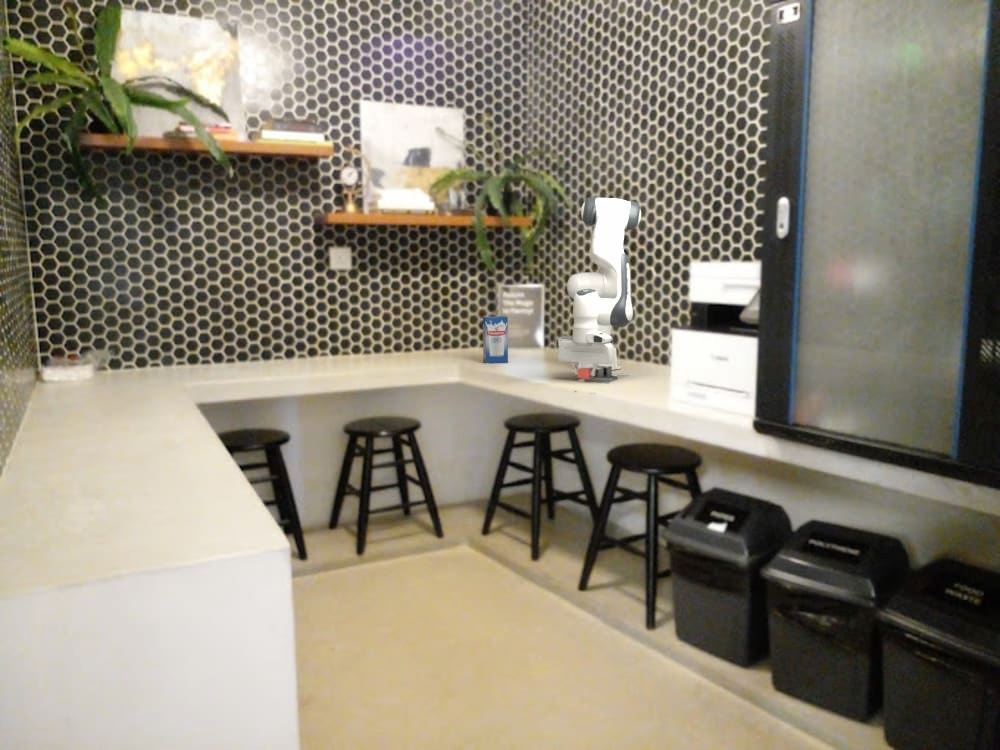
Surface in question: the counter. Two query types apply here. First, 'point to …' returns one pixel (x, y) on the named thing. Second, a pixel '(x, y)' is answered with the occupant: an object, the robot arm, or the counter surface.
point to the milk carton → (495, 339)
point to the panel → (604, 376)
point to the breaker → (598, 372)
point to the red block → (584, 373)
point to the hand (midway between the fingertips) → (585, 375)
